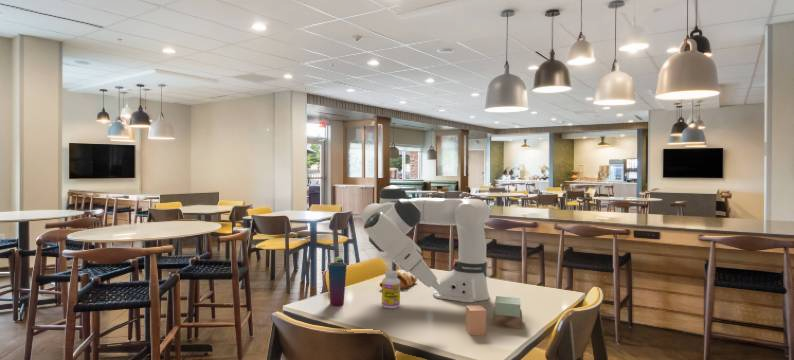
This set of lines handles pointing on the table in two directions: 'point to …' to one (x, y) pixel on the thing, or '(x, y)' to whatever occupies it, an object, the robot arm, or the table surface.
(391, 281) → the supplement bottle
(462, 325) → the table surface
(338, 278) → the cup
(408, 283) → the croissant
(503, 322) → the tower base
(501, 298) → the tower top
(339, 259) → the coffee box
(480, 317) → the terracotta block
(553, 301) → the table surface
